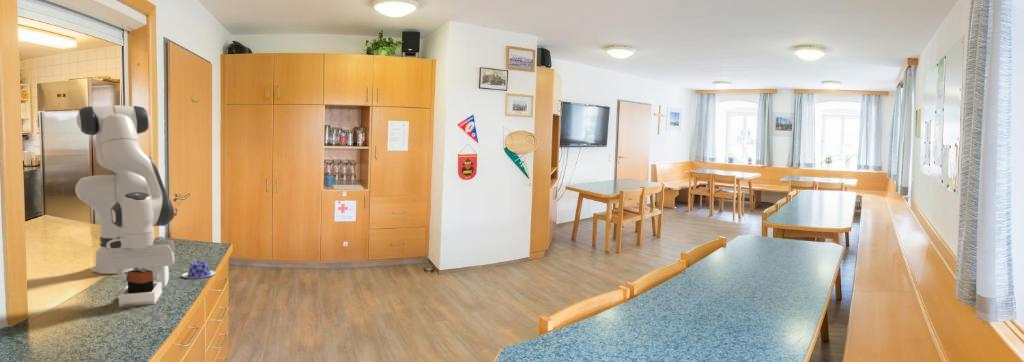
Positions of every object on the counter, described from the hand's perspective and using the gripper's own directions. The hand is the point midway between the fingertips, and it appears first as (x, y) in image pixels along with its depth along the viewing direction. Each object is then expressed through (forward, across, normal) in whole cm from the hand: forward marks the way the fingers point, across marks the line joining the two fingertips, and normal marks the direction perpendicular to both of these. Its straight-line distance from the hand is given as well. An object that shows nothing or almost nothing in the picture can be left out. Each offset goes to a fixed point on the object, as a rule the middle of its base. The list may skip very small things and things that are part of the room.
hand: (140, 280), depth 187 cm
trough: (+7, 0, 0) cm, 7 cm away
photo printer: (+7, -3, -18) cm, 20 cm away
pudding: (+7, -14, -29) cm, 33 cm away
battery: (+6, 0, 0) cm, 6 cm away
